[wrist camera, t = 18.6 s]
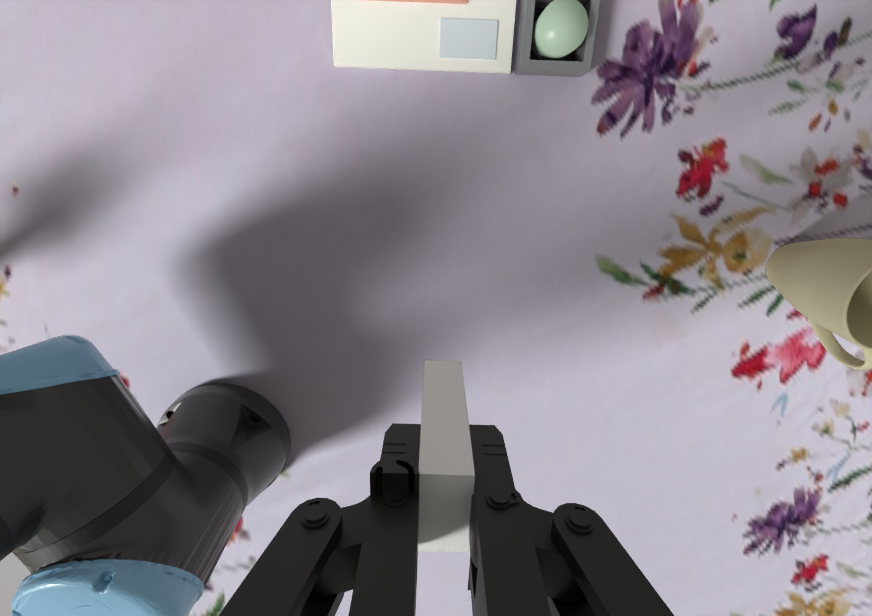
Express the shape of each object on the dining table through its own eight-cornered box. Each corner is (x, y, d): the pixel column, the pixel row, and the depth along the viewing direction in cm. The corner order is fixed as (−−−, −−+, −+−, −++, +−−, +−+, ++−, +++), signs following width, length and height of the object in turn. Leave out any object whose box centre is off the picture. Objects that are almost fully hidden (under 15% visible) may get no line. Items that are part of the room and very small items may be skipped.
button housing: (514, 74, 40) (520, 68, 37) (521, -3, 38) (528, -15, 35) (579, 76, 40) (590, 71, 37) (589, -1, 38) (601, -12, 35)
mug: (721, 280, 47) (811, 322, 36) (796, 204, 44) (920, 224, 33) (786, 335, 49) (890, 391, 38) (862, 266, 46) (998, 304, 35)
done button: (527, 61, 39) (536, 53, 36) (532, 9, 38) (541, -4, 35) (571, 62, 39) (584, 55, 36) (578, 11, 38) (591, -2, 35)
